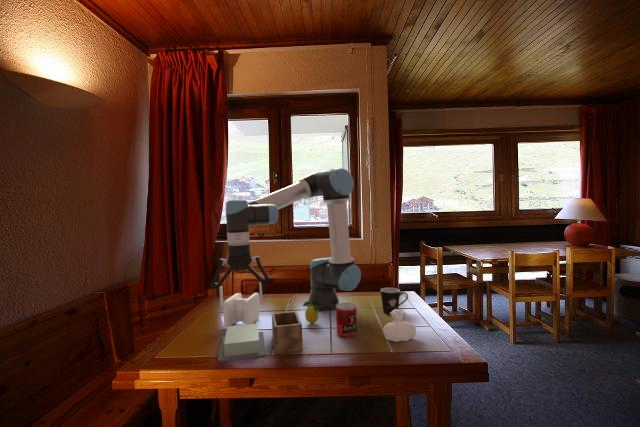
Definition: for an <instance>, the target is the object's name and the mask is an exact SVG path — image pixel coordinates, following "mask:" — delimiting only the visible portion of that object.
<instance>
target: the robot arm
mask: <svg viewBox="0 0 640 427" xmlns="http://www.w3.org/2000/svg"><path fill="white" fill-rule="evenodd" d="M354 181H355V180H354V178H353V176H352V174H351V172H349V171H348V169H345V168H337V167H336V168H330V169H325V170H324V169H323V170H318V171H314V172H313V173H311V174H308V175H306V176H304V177H302V178H299V179H298V180H297V181H296V182H295V183H293V184H291V185H288V186H286V187H284V188H281V189H279V190H276V191H274V192H271V193H269V194H266V195H264V196H261V197H259V198H257V199H254V200H252V201H249V202H248V200H247V199H238V200H236V199H234V200H233V199H231V200H227V201H226V203H225V217H226V219H225V221H226V237H227V238H226V239H227V244H228V246H227V254H228V255H227V256H228V257H227V258H226V259H225V258H222V257H220V258H219V260H218V267H217V269H216V271H215V273H214V275H213V278H212V280H211V281H210V287H212V288H215V292H216V298H219V303H220V304H219V305H220V308H223V304H224V296H223V293H224V292H223V286H222V285H223V283H224V282H225V280H226V279H227V278H228V276H230V274H231V273H232V272H233V271H234V272H239V271H246V270H247V271H248V272H250V273H251V275H252V276H254V278H256V279H257V280H258V282H259V284H258V285H259V286H258V287H259V303H261V304H262V303H263V293H266V283H268V282H270V281H271V280H270V276H269V275H268V274H267V271H266V270H265V268H264V266H263V264H262V263H261V261H260V256H259V255H256V256H253V257H251V249H250V248H251V246H250V244H249V243H250V227H253V226H262V225H263V226H264V225H268V226H269V225H272V224H273V225H275V223H277V222H278V220H279V216H280V214H279V210H281V209H283V208H284V207H287V206H289V205H292V204H293V203H295V202H296V203H297V202H298V201H301V200H303V199H304V200H308V199H310V198H315V197H322V201H323V202H324V203H325V204H326V206H327V207H326V208H327V218H328V230H329V243H330V245H329V246H330V254H331V255H330V256H329V257H320V258H314V259H311V261H310V263H309V264H310V265H309V266H310V267H309V270H310V271H309V272H310V293H309V295H308V300H307V301H308V302H311V300H312V306H313V305H314V306H315V307H316V308H317V310H318V311H331V310H334V309H335V310H336V305H337V304H339V303H340V301H339V300H340V299H339V297H338V294H337V290H340V291H347V292H348V291H353V290H354V289H356V288H357V287H358V285H359V283H360V281H361V276H362V273H361V269H360V268H359V266H357V265H356V264H355V258H354V257H353V256H352V255H351V245H350V244H351V243H350V233H349V219H348V218H349V217H348V207H347V203H348V201H349V199H350V194H351V193H352V192H353V190H354V185H355V182H354ZM252 261H253V263H255V264H256V266H257V267H258V269H259V271H260V272H261V273H262V275H263V277H264V278H263V277H262V276H261V275H260V274H259V273H258V272H257V271H256V270H255V269H254V268H253V267H252V266H251V263H252ZM226 264H227V265H228V266H229V267H228V268H227V270H226V271H225V273H224V274H223V275H222V276H221V278H220V279H219V280H218V277H219V275H220V273H221V271H222V268H223V266H225V265H226ZM217 280H218V281H217ZM336 289H337V290H336ZM310 306H311V303H310V305H308V306H307V308H308V307H310Z"/></svg>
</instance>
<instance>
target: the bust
mask: <svg viewBox="0 0 640 427" xmlns="http://www.w3.org/2000/svg"><path fill="white" fill-rule="evenodd" d="M405 315H406V311H403V310H401V309H399V308H398V309H394V310H393V311H392V312H390V316H391V318H392V319H393V321H391V322H388V323H387V324H386V323H385V325H384V326H383V328H382V331H383V334H384V336H385V338H386V340H388V341H391V342H395V343H398V342H408V341H411V340H413V339H414V338H415V337H416V330H417V328H416V325H415V324H414V323H412V322H409V321H406V320H405V321H404V320H403V319H404V316H405Z"/></svg>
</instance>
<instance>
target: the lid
mask: <svg viewBox="0 0 640 427" xmlns="http://www.w3.org/2000/svg"><path fill="white" fill-rule="evenodd" d="M258 332H259V324H258V322H256V323H255V322H254V323H253V324H245V325H244V324H238V325H237V324H235V325H232V326H227V327H226V331H225V336H226V337H225V342H224V352H225V357H226V356H235V355H243V354H251V353H259V334H258Z"/></svg>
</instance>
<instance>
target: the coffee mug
mask: <svg viewBox="0 0 640 427" xmlns="http://www.w3.org/2000/svg"><path fill="white" fill-rule="evenodd" d="M403 294H405V295H406V298H405V299H403V301H402V302H400V297H401V296H402V295H403ZM408 298H409V295H408V293H407V292H404V291H403V292H401V290H400V289H399V288H396V287H383V288H380V299H381V304H382V311H383V313H384V314H385V315H388V316H389V315H390V312H392V311H393V310H394V309H398V310H399V307H400V306H401V305H402V304H404V303H405V302H406V301H407V300H408ZM390 316H391V315H390Z"/></svg>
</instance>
